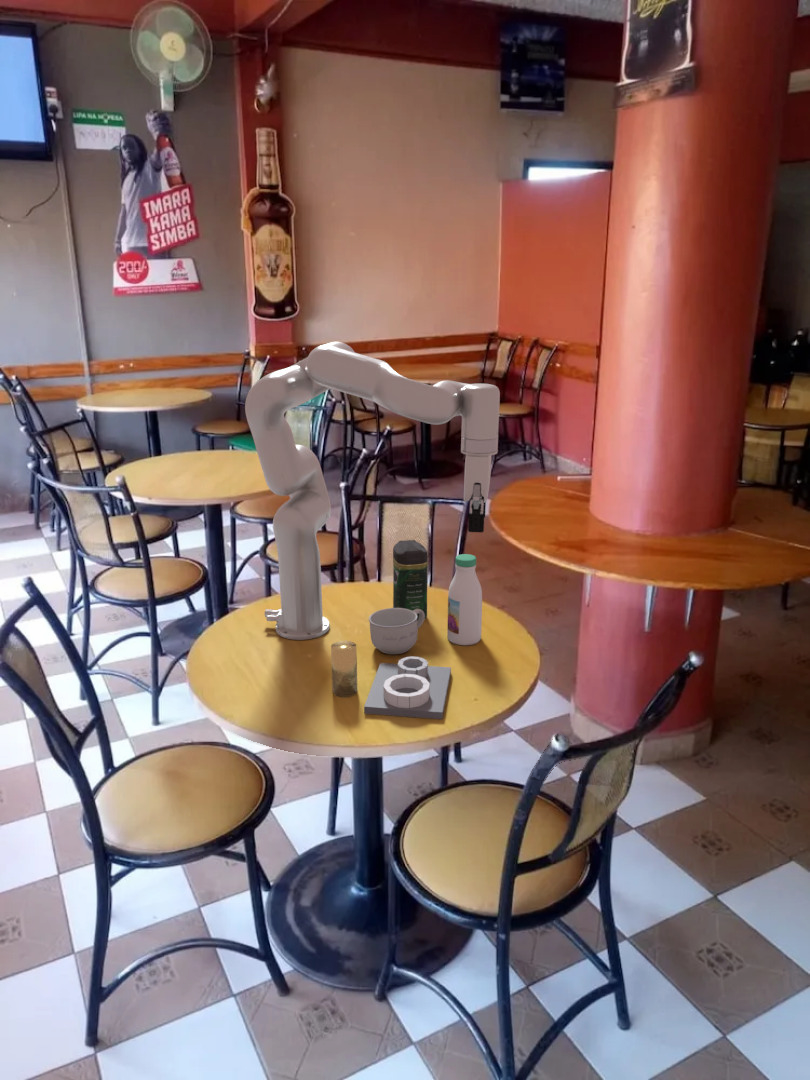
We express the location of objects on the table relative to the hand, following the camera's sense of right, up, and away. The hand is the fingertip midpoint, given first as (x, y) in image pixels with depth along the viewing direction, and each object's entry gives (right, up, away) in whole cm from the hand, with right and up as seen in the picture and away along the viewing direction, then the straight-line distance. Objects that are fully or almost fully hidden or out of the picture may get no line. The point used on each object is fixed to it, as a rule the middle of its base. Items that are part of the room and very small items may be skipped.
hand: (476, 524), depth 174 cm
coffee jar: (-14, -22, +26) cm, 37 cm away
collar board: (-14, -34, -9) cm, 38 cm away
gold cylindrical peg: (-27, -34, -8) cm, 44 cm away
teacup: (-16, -27, +10) cm, 34 cm away
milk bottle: (-2, -26, +14) cm, 30 cm away
